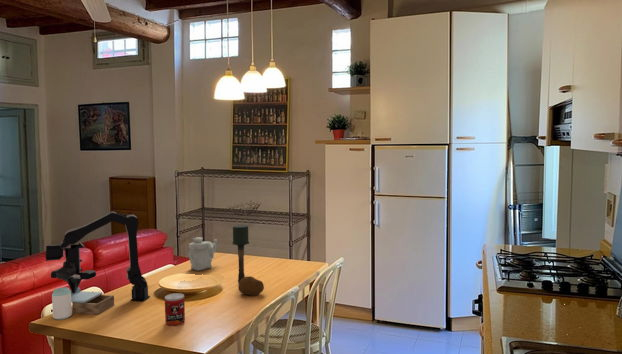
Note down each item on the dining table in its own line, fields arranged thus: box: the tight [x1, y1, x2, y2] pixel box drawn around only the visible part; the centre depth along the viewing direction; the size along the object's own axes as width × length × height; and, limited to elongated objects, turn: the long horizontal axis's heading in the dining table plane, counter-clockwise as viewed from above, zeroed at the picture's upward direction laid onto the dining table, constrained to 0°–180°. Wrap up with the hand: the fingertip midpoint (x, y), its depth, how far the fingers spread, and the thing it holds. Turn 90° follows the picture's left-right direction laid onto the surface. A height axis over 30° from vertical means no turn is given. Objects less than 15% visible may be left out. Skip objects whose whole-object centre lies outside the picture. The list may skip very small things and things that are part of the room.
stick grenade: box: [231, 224, 250, 284], centre depth 245 cm, size 8×9×30 cm
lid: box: [70, 287, 103, 303], centre depth 210 cm, size 12×12×3 cm
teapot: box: [188, 236, 218, 272], centre depth 277 cm, size 16×15×19 cm
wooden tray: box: [71, 294, 115, 315], centre depth 209 cm, size 12×12×4 cm
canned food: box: [164, 292, 186, 327], centre depth 192 cm, size 8×8×11 cm
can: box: [51, 286, 73, 321], centre depth 200 cm, size 7×7×12 cm
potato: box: [238, 275, 265, 297], centre depth 227 cm, size 8×12×9 cm
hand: (74, 293), depth 211 cm, fingers closed
